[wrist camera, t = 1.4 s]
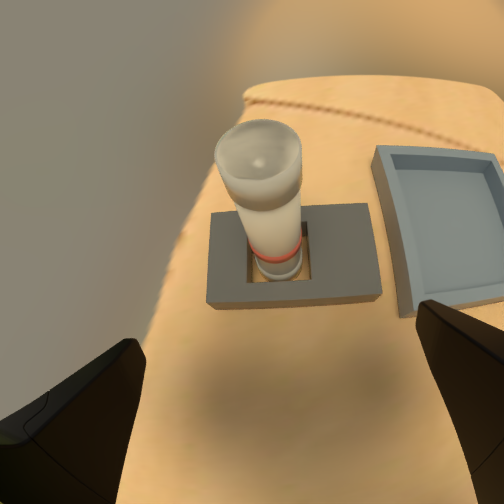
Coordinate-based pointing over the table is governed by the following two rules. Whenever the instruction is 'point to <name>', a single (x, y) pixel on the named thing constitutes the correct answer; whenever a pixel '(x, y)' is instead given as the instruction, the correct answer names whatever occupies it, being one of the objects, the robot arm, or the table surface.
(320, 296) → the block
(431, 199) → the tray
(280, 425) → the table surface
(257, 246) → the cup
